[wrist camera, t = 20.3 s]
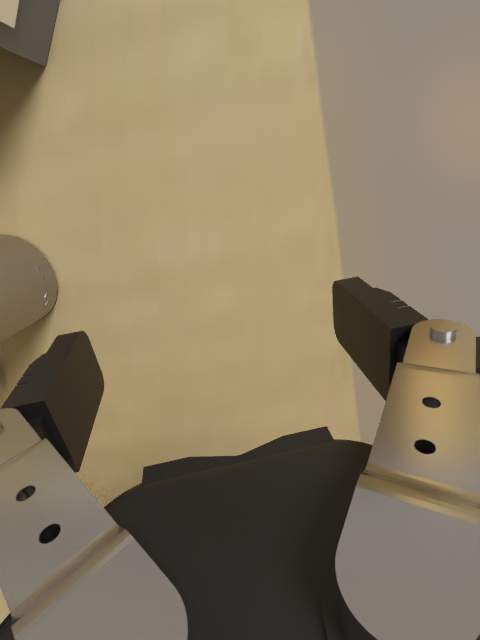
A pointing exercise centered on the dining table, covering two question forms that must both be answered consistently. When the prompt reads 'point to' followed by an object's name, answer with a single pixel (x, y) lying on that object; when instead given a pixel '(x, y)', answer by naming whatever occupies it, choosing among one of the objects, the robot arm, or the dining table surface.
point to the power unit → (28, 27)
